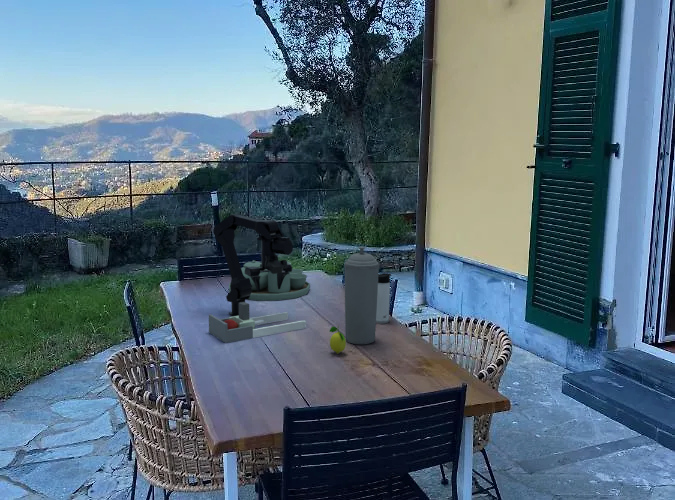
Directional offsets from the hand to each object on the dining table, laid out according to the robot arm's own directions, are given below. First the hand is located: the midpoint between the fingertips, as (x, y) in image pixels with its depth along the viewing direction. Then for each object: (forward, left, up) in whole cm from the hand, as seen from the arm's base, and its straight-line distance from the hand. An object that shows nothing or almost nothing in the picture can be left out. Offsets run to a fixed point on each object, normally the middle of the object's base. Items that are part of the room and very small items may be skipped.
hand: (268, 290), depth 241 cm
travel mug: (+24, +39, -13) cm, 48 cm away
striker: (+8, -13, -13) cm, 20 cm away
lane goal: (+8, -9, -13) cm, 18 cm away
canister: (+39, +17, -13) cm, 45 cm away
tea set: (-47, +25, -14) cm, 55 cm away
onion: (+7, -17, -10) cm, 21 cm away
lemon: (+46, +2, -13) cm, 48 cm away
